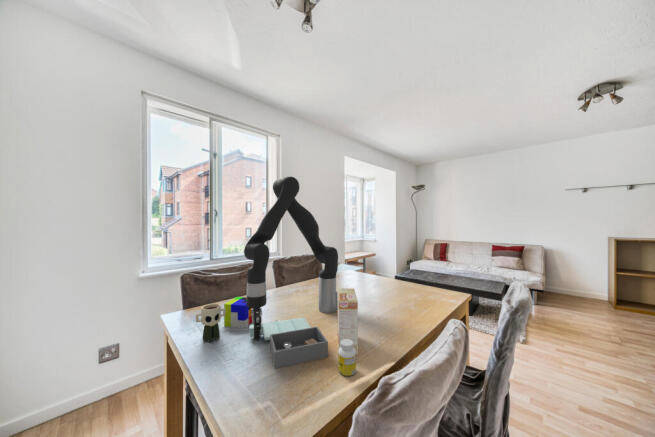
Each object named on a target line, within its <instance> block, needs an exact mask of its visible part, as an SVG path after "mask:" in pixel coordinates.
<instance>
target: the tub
mask: <svg viewBox="0 0 655 437" xmlns="http://www.w3.org/2000/svg"><path fill="white" fill-rule="evenodd" d="M310 339H314V340H315V341H317V342H318V343H314V344H309V345H304V341H307V340H310ZM285 342H291V343H292V348H288V349H283V343H285ZM269 351H270V355H271V359H272V364H273V369H274V370H275V369H280V368H284V367H289V366H294V365H297V364H303V363H307V362H312V361H316V360H322V359H325V358H328V357H329V341H328V339H327V338H326V337H325V336H324V334H323V333H322V332H321V330H320V328H319V327H318V326H311V328H306V329H300V330H294V331H288V332H282V333H276V334H270V340H269Z"/></svg>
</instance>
